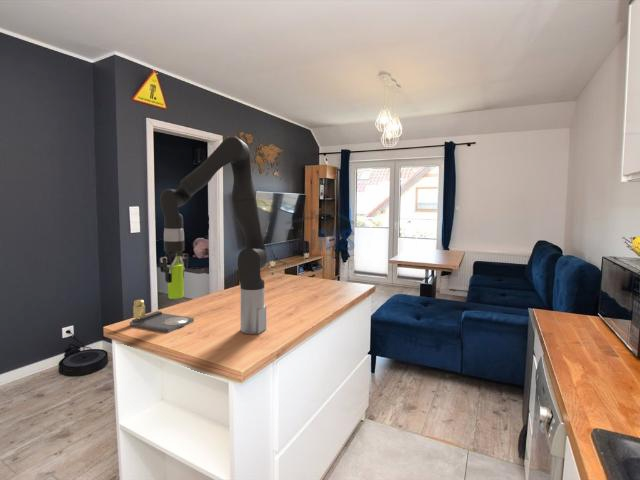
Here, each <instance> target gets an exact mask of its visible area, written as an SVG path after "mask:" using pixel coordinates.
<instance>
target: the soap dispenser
mask: <svg viewBox="0 0 640 480" xmlns="http://www.w3.org/2000/svg"><path fill="white" fill-rule="evenodd" d="M175 257H177V260H176V262H175V265H174V266H173V268H172V271H171V275H172V282H171V283H167V298H168V299H170V300H176V299H181V298H184V297H185V294H184V293H185V292H184V291H185V289H184V278H183V265H182V264H180V259H179V256H177V253H176V256H175ZM168 270H169V267H168Z"/></svg>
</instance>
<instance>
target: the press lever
mask: <svg viewBox="0 0 640 480" xmlns="http://www.w3.org/2000/svg"><path fill="white" fill-rule="evenodd" d="M132 308H133V319H141V318H144V317H145V315H146V305H145V300H144V299H136V300H134V301H133V306H132Z"/></svg>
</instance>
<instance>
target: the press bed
mask: <svg viewBox="0 0 640 480" xmlns="http://www.w3.org/2000/svg"><path fill="white" fill-rule="evenodd" d="M194 319H195V318H194V317H189V316H182V315H176V314H171V313H170V314H169V313H163V312H162V311H159V310H156V311H154V312H151V313H149V314H145V317H144V318H141V319H136V318H133V319H131V321H129V326H131V327H137V328H142V329H146V330H153V331H156V332H157V331H159V332H164V333H170V332H174V331H175V330H177V329H179V328H182V327H185V326H187V325H189V324H191V323H194V321H195V320H194Z"/></svg>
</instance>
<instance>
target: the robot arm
mask: <svg viewBox="0 0 640 480" xmlns="http://www.w3.org/2000/svg"><path fill="white" fill-rule="evenodd" d="M229 164H230V166H231V171H232V175H233V184H232V191H231V203H232V208H233V213H234V216H235V219H236V221H237V223H238V225H239V228H240V229H241V232H243V235H244V240H245V245H246V246H245V247H246V248H243V249H241V251H240V252H239V253H238V257H237V277H238V281H239V284H240V286H239V287H240V332H241V333H243V334H247V335H248V334H249V335H256V334H257V335H260V334H261V333H263V332H264V331H265V330H267V305H265V280H264V279H263V278H262V276H261V269H262V268H263V267H264V266H265V265H266V264H267V263H268V253H267V248H266V246H265V242H264V238H263V233H262V230H261V227H262V226H261V221H260V216H259V208H258V203H257V195H256V191H255V186H254V182H253V177H252V168H251V167H252V165H251V150H250V148H249V145H248V144H247V143H246V142H244V141H243V140H242V139H241V138H238V137H236V136H228V137H227V138H225V139H224V140H223V141H222V142H221V143H220V144H219V145H218V146H217V147H216V148H215V150H214V151H212V153H211V154H210V155H209V156H208V157H207V158H205V160H204V161H203V162H202V163H200V164H199V166H197V167H196V168H195V169H193V170H192V171H191V172H190V173H189V174H187V175H185V177H184V178H182V179H181V180H180V182H179V186H178V187H177V188H175V189H172V188H167V189H164V190H163V191H162V192H161V194H160V196H159V197H160V198H159V203H160V208H161V212H162V215H163V219H164V220H163V226H164V227H163V229H164V230H163V251H164V252H165V255H164V256H160V257H159V258H158V263H159V270H160V272H161V273H164V274H165V275H164V278H165V283H167V284H168V283H171V282H172V275H171V271H172V268H173V266H174V265H175V262H176V260H177V257H175V256H176V253H177V256H179V259H180V264H182V265H183V279H184V278H185V269H188V268H189V259H190V258H189V257H190V254H189V253H184V252H185V231H184V216H183V215H182V214H181V213H179V212H180V211H179V208H180V207H182V206H185V205H186V204H187V203H188V202H189V201H190V200H191V198H192V197H193V196H194V195H195V194H197V192H198V191H200V190H202V189H203V188H204V187H205V186H207V185H208V184H209V182H210V181H211V180H212V179H213V177H214V175H216V173H217V172H218V171H219V170H220V169H222V168H224V166H226V165H229ZM168 267H169V270H168Z"/></svg>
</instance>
